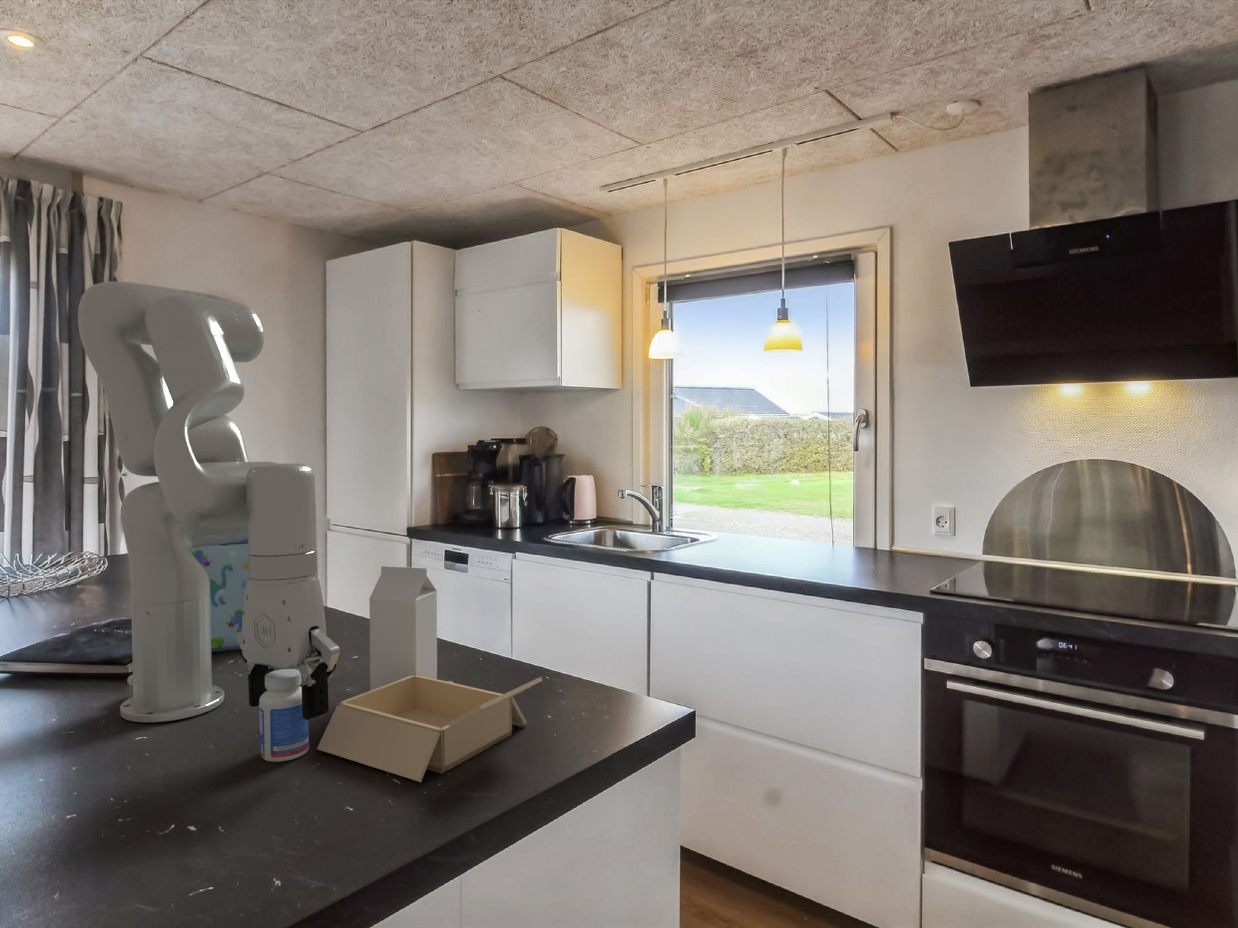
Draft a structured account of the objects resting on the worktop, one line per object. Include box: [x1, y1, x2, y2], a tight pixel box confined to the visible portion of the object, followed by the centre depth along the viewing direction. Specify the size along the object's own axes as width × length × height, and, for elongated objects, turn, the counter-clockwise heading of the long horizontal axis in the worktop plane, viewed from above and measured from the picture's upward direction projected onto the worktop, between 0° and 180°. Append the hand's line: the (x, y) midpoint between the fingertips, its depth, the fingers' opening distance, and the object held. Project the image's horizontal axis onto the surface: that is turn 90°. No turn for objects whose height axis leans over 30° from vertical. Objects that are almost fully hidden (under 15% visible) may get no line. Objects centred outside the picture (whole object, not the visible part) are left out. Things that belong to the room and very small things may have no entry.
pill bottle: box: [258, 668, 310, 763], centre depth 93 cm, size 6×5×10 cm
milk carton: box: [369, 565, 438, 691], centre depth 113 cm, size 7×7×19 cm
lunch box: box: [191, 538, 249, 653], centre depth 138 cm, size 26×11×21 cm, turn 120°
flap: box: [448, 676, 544, 727], centre depth 92 cm, size 1×12×6 cm
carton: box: [316, 675, 528, 783], centre depth 98 cm, size 20×20×5 cm
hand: (288, 709), depth 92 cm, fingers open, 9 cm apart
